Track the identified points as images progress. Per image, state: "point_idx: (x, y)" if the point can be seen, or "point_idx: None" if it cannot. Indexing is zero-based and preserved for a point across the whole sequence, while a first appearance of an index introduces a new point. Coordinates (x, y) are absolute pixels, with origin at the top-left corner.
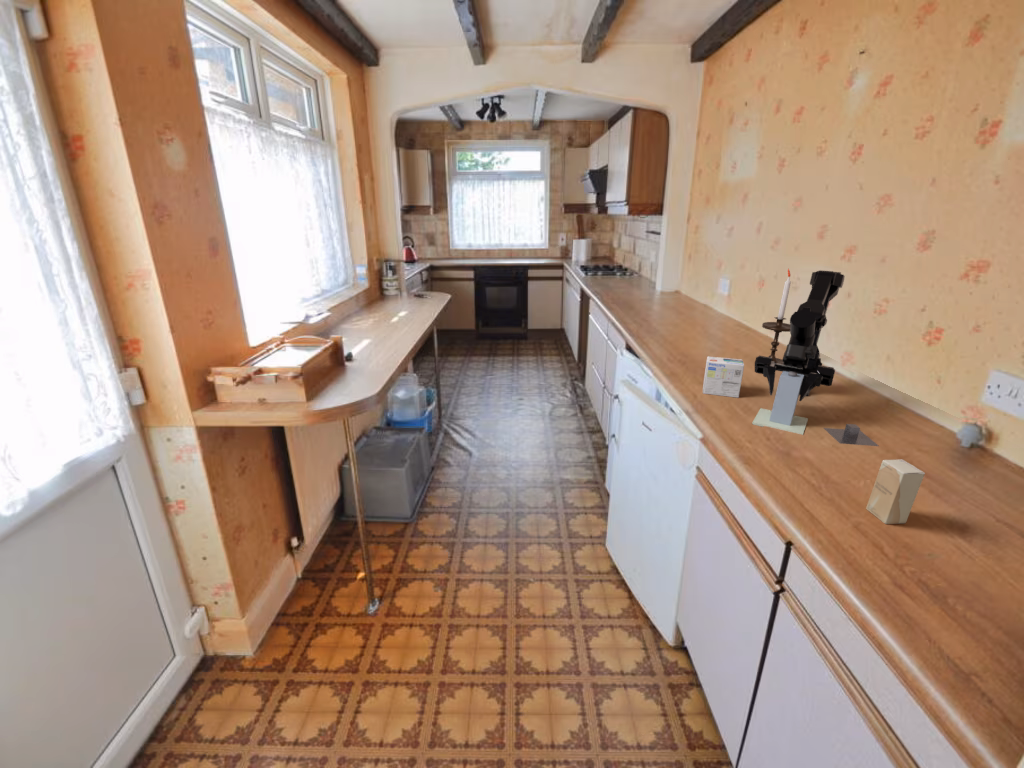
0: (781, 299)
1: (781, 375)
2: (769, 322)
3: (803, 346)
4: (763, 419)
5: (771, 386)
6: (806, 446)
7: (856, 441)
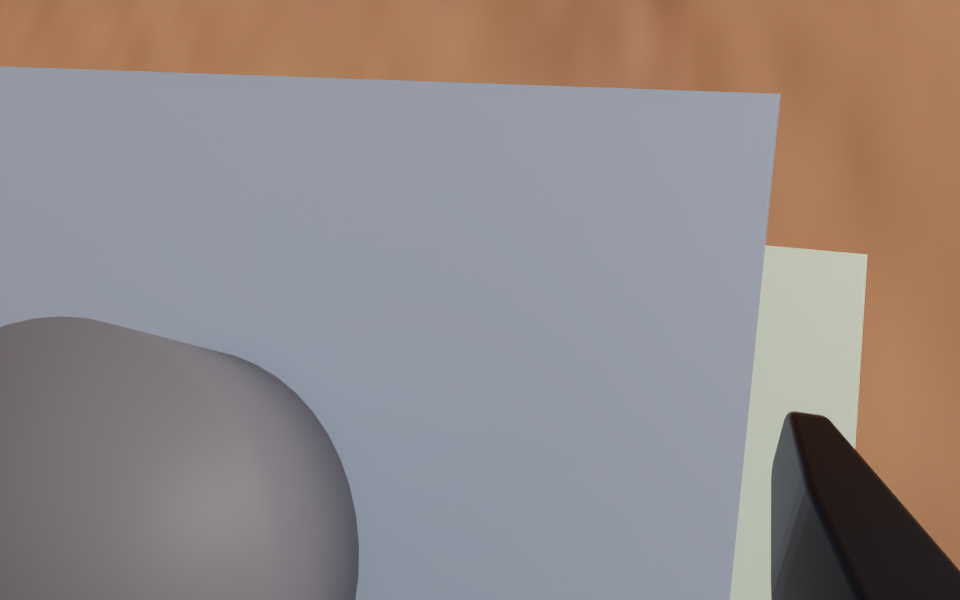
0: None
1: (715, 207)
2: None
3: None
4: (750, 411)
5: (880, 527)
6: (365, 19)
7: None
